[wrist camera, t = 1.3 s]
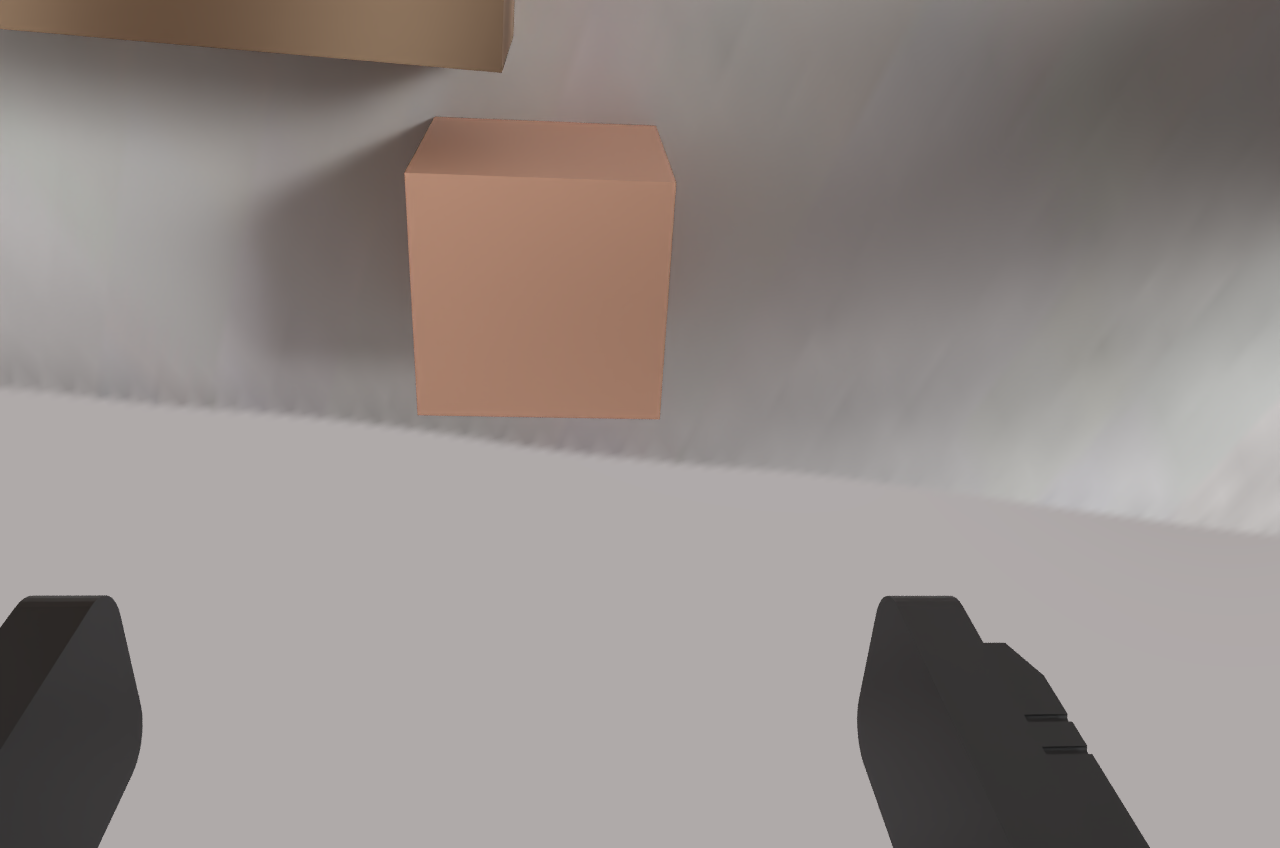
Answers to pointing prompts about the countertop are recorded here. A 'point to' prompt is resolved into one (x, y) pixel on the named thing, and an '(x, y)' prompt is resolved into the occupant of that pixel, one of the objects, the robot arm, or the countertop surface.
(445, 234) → the terracotta cube
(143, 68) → the countertop surface
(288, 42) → the walnut block
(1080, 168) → the countertop surface
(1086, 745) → the robot arm
